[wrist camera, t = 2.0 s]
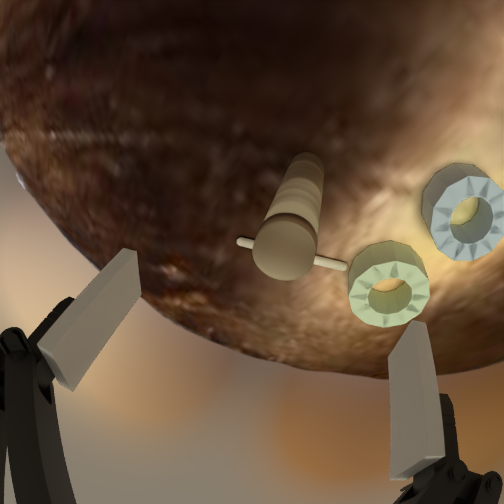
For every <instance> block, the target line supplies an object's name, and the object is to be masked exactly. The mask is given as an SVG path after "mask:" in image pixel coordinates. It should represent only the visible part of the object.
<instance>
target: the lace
mask: <svg viewBox="0 0 504 504" xmlns="http://www.w3.org/2000/svg"><path fill="white" fill-rule="evenodd" d="M254 242H255V240H251V239H247V238H243V237H240V238H238V239H237V244H238V245H239V246H243V247H247V248H251V249H253V244H254ZM313 264H316V265H320V266H324V267H328V268H332V269H336V270H340V271H345V270H347V267H348V266H347V264H346V263H344V262H341V261H337V260H332V259H328V258H324V257H320V256H315V259H314V263H313Z"/></svg>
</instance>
